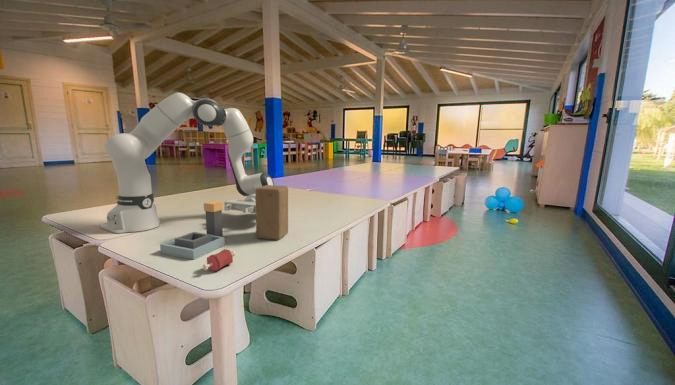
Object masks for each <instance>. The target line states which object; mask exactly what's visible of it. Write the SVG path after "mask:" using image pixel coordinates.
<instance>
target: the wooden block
mask: <svg viewBox="0 0 675 385" xmlns="http://www.w3.org/2000/svg"><path fill="white" fill-rule="evenodd" d="M255 195H256V213H255V232H256V234H255V235H256V238H258V239H265V240H267V239H268V240H276V241H278V240H281V239H282V238H284V237H285V236H286V235H288V233H289V187H288V186H287V185H275V184H274V185H265V186H262V187H259V188H256V190H255Z"/></svg>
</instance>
